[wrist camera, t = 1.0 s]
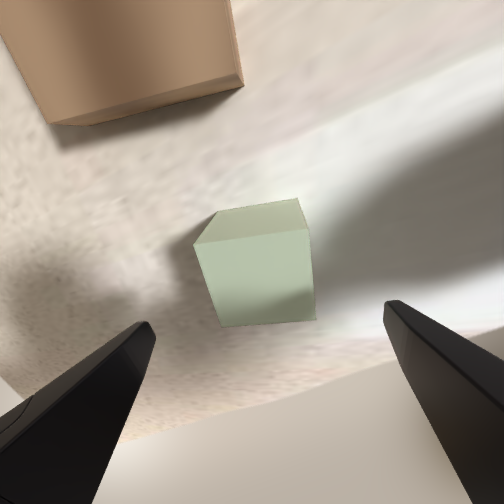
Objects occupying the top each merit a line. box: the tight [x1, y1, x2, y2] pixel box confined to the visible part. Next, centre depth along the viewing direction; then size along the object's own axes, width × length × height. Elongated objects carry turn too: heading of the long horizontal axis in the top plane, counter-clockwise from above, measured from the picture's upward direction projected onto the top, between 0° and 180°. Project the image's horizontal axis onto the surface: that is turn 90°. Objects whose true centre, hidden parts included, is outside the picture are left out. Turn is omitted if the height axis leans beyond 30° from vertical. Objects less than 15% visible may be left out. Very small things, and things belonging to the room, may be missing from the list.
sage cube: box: [193, 198, 316, 327], centre depth 13 cm, size 5×5×5 cm
